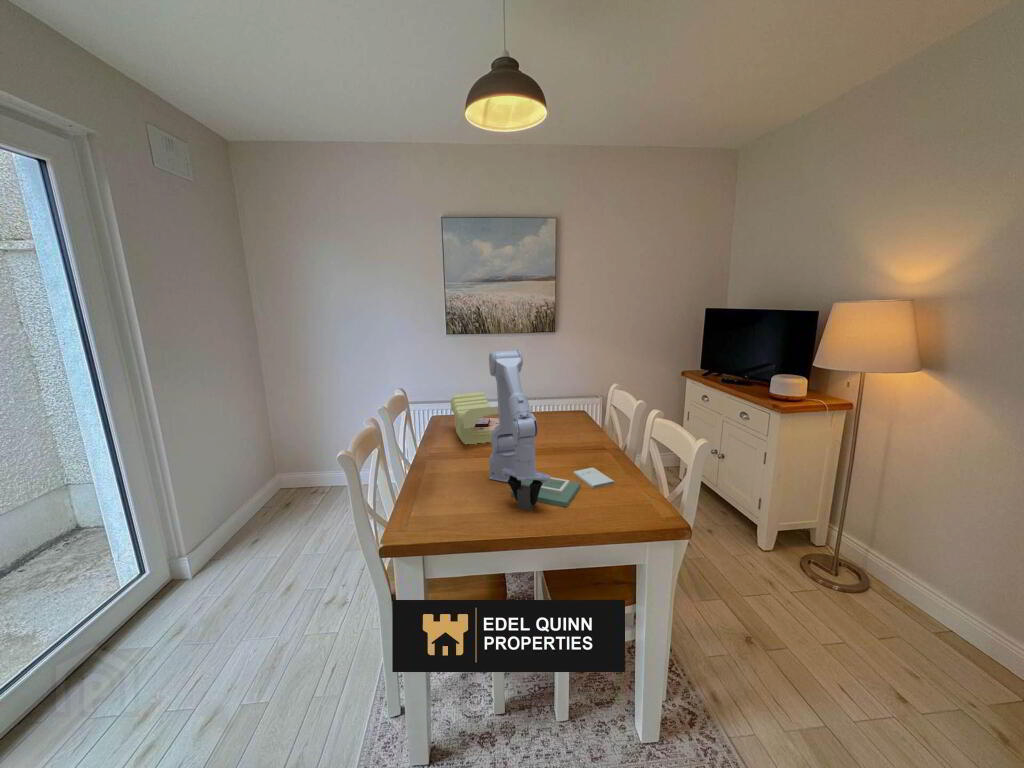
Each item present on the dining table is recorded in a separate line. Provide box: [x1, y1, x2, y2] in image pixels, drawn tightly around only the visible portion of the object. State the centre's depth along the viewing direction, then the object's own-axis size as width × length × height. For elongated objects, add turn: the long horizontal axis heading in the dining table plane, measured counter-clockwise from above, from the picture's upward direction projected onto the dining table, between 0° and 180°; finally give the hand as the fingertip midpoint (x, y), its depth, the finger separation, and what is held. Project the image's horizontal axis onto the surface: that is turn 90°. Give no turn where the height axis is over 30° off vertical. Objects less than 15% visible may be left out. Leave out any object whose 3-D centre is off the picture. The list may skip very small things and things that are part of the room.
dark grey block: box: [516, 484, 536, 512], centre depth 117 cm, size 4×4×6 cm
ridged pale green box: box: [450, 391, 499, 446], centre depth 176 cm, size 30×16×18 cm, turn 18°
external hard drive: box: [573, 467, 615, 489], centre depth 135 cm, size 2×8×12 cm
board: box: [510, 476, 582, 508], centre depth 126 cm, size 18×14×3 cm
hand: (526, 502), depth 118 cm, fingers open, 4 cm apart
